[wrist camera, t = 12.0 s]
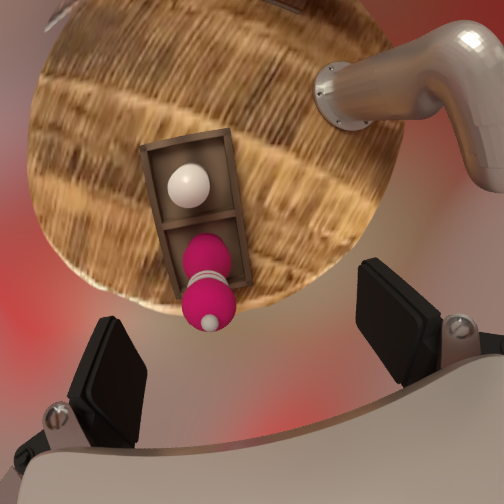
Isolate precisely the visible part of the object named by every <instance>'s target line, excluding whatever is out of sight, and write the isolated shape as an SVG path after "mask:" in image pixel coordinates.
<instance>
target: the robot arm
mask: <svg viewBox="0 0 504 504" xmlns="http://www.w3.org/2000/svg"><path fill="white" fill-rule="evenodd" d="M329 69H330V70H329ZM318 94H319V96H318ZM313 95H314V100H315V103H316V106H317V108H318V110H319V111H320V113H321V114H322V116H323V117H324V118H325V119H326V120H327V121H328V122H329V123H331V124H332V125H333V126H335V127H337V128H339V129H343V130H348V131H357V130H361V129H364V128H366V127H368V126H369V125H370V124H371V123H372V122H373V121H378V120H423V119H427V118H430V117H432V116H433V115H435V114H436V113H437V112H438V111H439V110H440V109H441V108H442V107H443V106H444V107H445V110H446V112H447V115H448V117H449V119H450V121H451V124H452V127H453V130H454V133H455V136H456V138H457V141H458V145H459V148H460V152H461V155H462V158H463V161H464V164H465V168H466V170H467V173H468V174H469V177H470V178H471V180H472V181H473V182H474V183H475V184H476V185H477V186H478V187H480V188H482V189H484V190H486V191H489V192H494V193H504V47H503V45H502V44H501V42H500V41H499V40H498V38H497V37H496V36H495V35H494V34H493V33H492V32H491V31H490V30H489V29H488V28H486V27H485V26H483V25H481V24H480V23H477V22H474V21H469V20H460V21H454V22H451V23H448V24H446V25H443V26H441V27H439V28H438V29H435V30H433V31H432V32H430V33H428V34H426V35H424V36H422V37H420V38H418V39H416V40H414V41H411V42H409V43H406V44H403V45H401V46H398V47H395V48H392V49H389V50H387V51H384V52H381V53H378V54H376V55H373V56H370V57H368V58H365V59H363V60H360V61H358V62H355V63H353V64H352V63H348V62H334V63H331V64H328V65H327V66H325V67H323V68H322V69H321V70H320V71H319V72H318V74H317V76H316V77H315V81H314V85H313ZM336 121H337V122H336ZM440 315H441V313H440V312H439V311H438V310H437V309H435V307H433V305H431V304H430V303H429V302H428V301H427V300H426V299H425V298H424V297H423V296H421V295H420V294H419V293H418V292H417V291H416V290H415V289H414V288H412V287H411V286H410V285H409V284H408V283H407V282H405V281H404V280H403V279H402V278H401V277H399V276H398V275H397V274H396V273H395V272H394V271H392V270H391V269H390V268H389V267H388V266H387V265H385V264H384V263H383V262H381V261H380V260H379V259H378V258H376V257H375V258H371V259H367V260H364V261H362V263H361V265H359V267H358V284H357V304H356V325H357V327H358V328H359V330H360V331H361V333H362V334H363V335H364V337H365V338H366V340H367V341H368V343H369V344H370V345H371V347H372V348H373V350H374V351H375V352H376V354H377V355H378V357H379V358H380V360H381V361H382V363H383V364H384V365H385V367H386V368H387V370H388V371H389V373H390V374H391V376H392V377H393V379H394V380H395V382H396V383H397V384H400V383H401V385H402V386H403V389H401V390H399V391H397V392H395V393H392V394H390V395H388V396H386V397H383V398H381V399H379V400H377V401H374V402H372V403H369V404H367V405H365V406H362V407H359V408H357V409H354V410H352V411H349V412H346V413H343V414H341V415H338V416H335V417H332V418H329V419H326V420H323V421H320V422H316V423H314V424H310V425H306V426H303V427H299V428H295V429H292V430H288V431H284V432H280V433H275V434H271V435H266V436H261V437H257V438H252V439H246V440H241V441H234V442H227V443H221V444H213V445H204V446H193V447H181V448H159V449H156V448H155V449H134V447H135V443H137V442H138V439H139V430H140V422H141V414H142V406H143V399H144V393H145V386H146V380H147V368H146V366H145V364H144V362H143V360H142V359H141V357H140V355H139V354H138V352H137V350H136V349H135V347H134V345H133V343H132V341H131V339H130V338H129V336H128V334H127V332H126V330H125V328H124V326H123V324H122V323H121V321H120V320H119V319H116V318H115V317H114V316H109V317H103V318H100V319H99V321H98V323H97V325H96V327H95V329H94V332H93V334H92V336H91V338H90V340H89V342H88V345H87V347H86V349H85V352H84V354H83V356H82V359H81V361H80V363H79V366H78V368H77V371H76V373H75V376H74V378H73V381H72V383H71V386H70V389H69V392H68V395H67V397H68V398H69V399H70V401H69V404H68V403H66V402H63V401H59V402H55V403H53V404H52V405H51V406H49V407H48V408H47V410H46V411H45V413H44V415H43V419H42V424H43V428H44V429H43V430H42V431H41V432H39V433H38V434H37V435H35V436H34V437H32V438H31V439H30V440H28V441H27V442H26V443H25V444H23V445H21V446H20V447H19V448H18V449H17V451H16V453H15V456H14V466H15V468H14V467H13V466H11V468H10V469H9V470H8V472H7V473H6V475H5V476H4V477H3V479H2V480H1V481H0V504H504V335H497V334H490V333H483V332H479V331H478V327H477V324H476V323H475V322H474V320H473V319H471V318H470V317H468V316H466V315H463V314H451V315H448V316H447V317H446V318H445V319H444V320H443V319H442V318H441V317H440Z"/></svg>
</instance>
